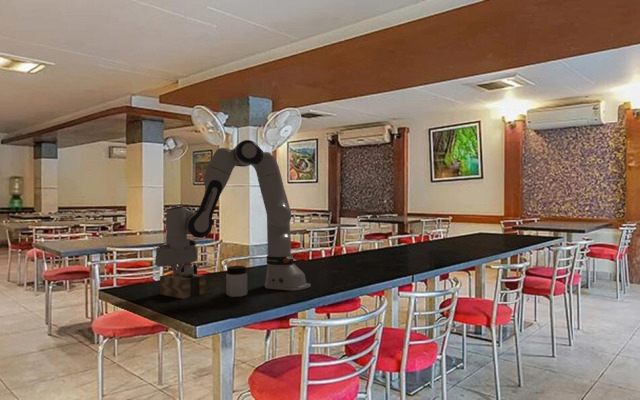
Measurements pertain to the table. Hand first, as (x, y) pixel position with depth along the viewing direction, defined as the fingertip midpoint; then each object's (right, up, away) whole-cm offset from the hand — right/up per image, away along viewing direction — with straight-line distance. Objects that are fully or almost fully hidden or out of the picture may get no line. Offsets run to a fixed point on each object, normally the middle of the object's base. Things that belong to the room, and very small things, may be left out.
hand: (177, 274), depth 206 cm
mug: (0, -8, +17) cm, 19 cm away
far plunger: (0, -8, 0) cm, 8 cm away
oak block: (+3, -8, -2) cm, 9 cm away
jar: (+27, -8, -5) cm, 29 cm away
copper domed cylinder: (+6, -2, -5) cm, 8 cm away
